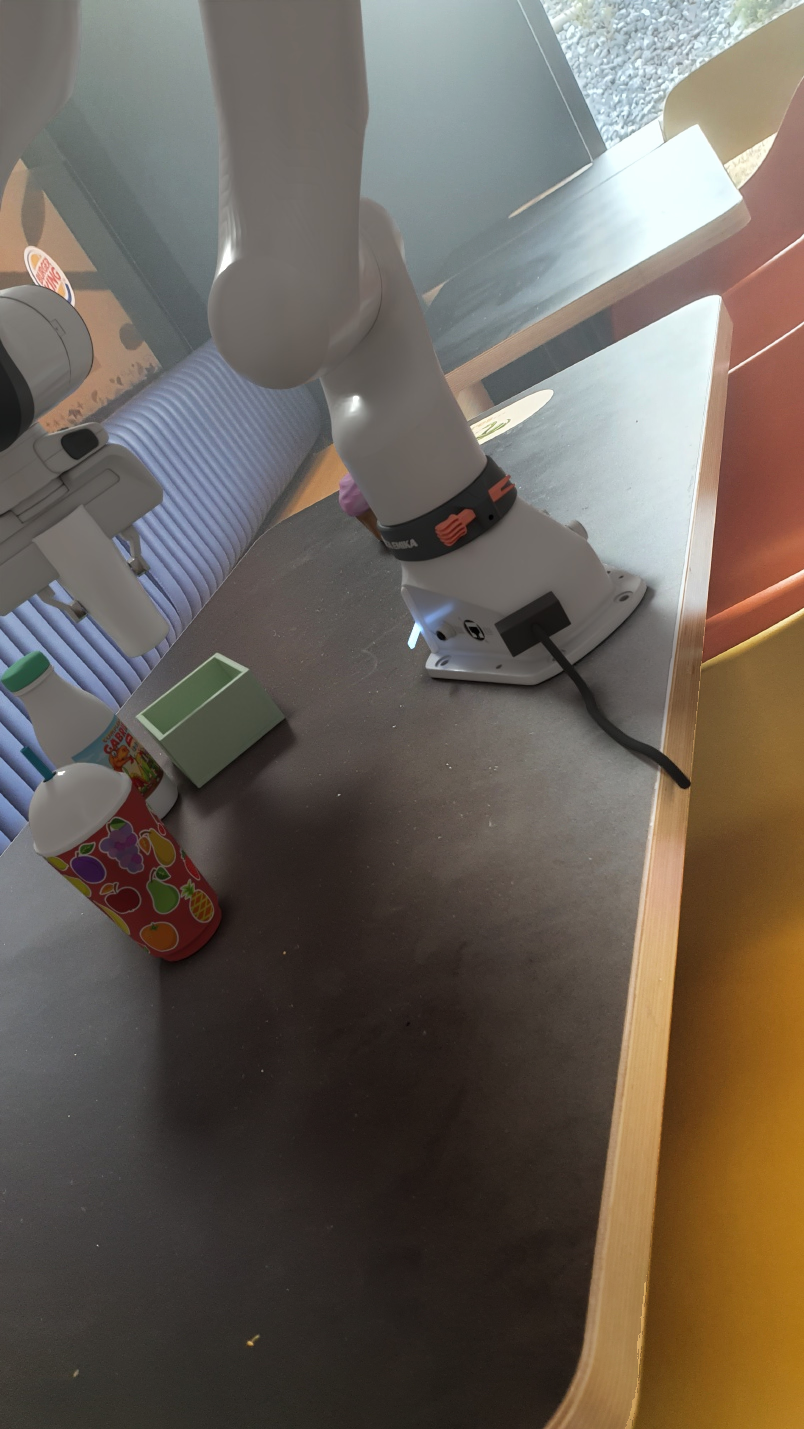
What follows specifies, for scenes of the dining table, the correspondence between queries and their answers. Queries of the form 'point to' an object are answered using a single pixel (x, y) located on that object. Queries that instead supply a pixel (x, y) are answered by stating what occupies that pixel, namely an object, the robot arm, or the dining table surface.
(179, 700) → the tub
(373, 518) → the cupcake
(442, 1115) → the dining table surface
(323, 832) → the dining table surface
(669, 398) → the dining table surface
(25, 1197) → the dining table surface
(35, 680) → the milk bottle
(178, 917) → the smoothie
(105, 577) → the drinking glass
